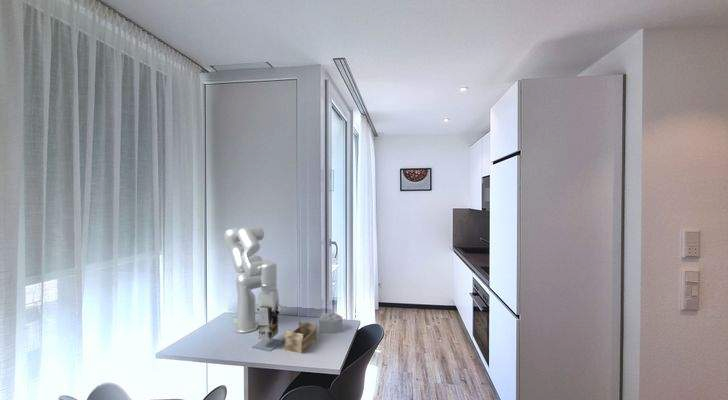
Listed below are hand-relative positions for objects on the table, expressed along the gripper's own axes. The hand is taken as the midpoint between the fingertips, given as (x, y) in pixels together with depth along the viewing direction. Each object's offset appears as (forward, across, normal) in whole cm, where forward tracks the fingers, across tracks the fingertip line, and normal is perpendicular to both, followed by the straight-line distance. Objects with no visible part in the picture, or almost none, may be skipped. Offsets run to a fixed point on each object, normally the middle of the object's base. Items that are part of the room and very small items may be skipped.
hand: (268, 321), depth 151 cm
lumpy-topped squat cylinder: (+12, +22, +27) cm, 37 cm away
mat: (+12, 0, 0) cm, 12 cm away
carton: (+12, +16, +5) cm, 20 cm away
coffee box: (+7, 0, 0) cm, 7 cm away
